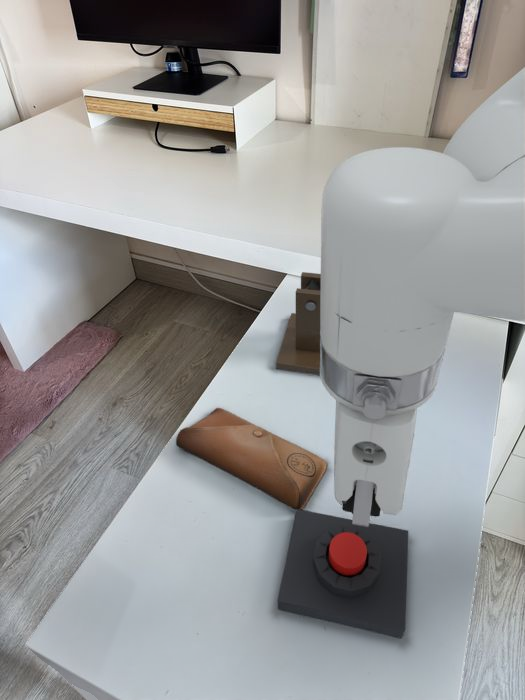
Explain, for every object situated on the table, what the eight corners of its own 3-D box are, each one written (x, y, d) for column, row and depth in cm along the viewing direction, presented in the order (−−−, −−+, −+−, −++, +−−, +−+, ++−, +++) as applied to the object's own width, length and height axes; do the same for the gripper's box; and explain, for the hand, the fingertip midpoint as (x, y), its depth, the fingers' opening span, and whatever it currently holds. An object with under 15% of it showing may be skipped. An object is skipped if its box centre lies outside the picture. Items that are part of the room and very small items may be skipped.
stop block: (405, 540, 55) (411, 521, 52) (401, 639, 48) (408, 623, 45) (296, 518, 57) (296, 499, 54) (277, 609, 50) (276, 593, 47)
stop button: (366, 544, 51) (368, 536, 50) (363, 579, 48) (365, 571, 47) (331, 537, 52) (332, 528, 50) (326, 571, 49) (326, 563, 48)
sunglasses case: (332, 459, 62) (321, 451, 56) (309, 513, 61) (295, 511, 55) (214, 405, 69) (193, 392, 64) (191, 452, 68) (167, 444, 62)
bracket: (346, 324, 82) (351, 262, 74) (336, 377, 73) (341, 313, 65) (291, 318, 83) (291, 257, 75) (275, 368, 75) (273, 305, 67)
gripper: (444, 462, 26) (402, 601, 38) (438, 290, 36) (407, 444, 49) (300, 441, 28) (305, 581, 40) (334, 283, 38) (329, 433, 51)
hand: (361, 505), depth 44 cm, fingers closed
